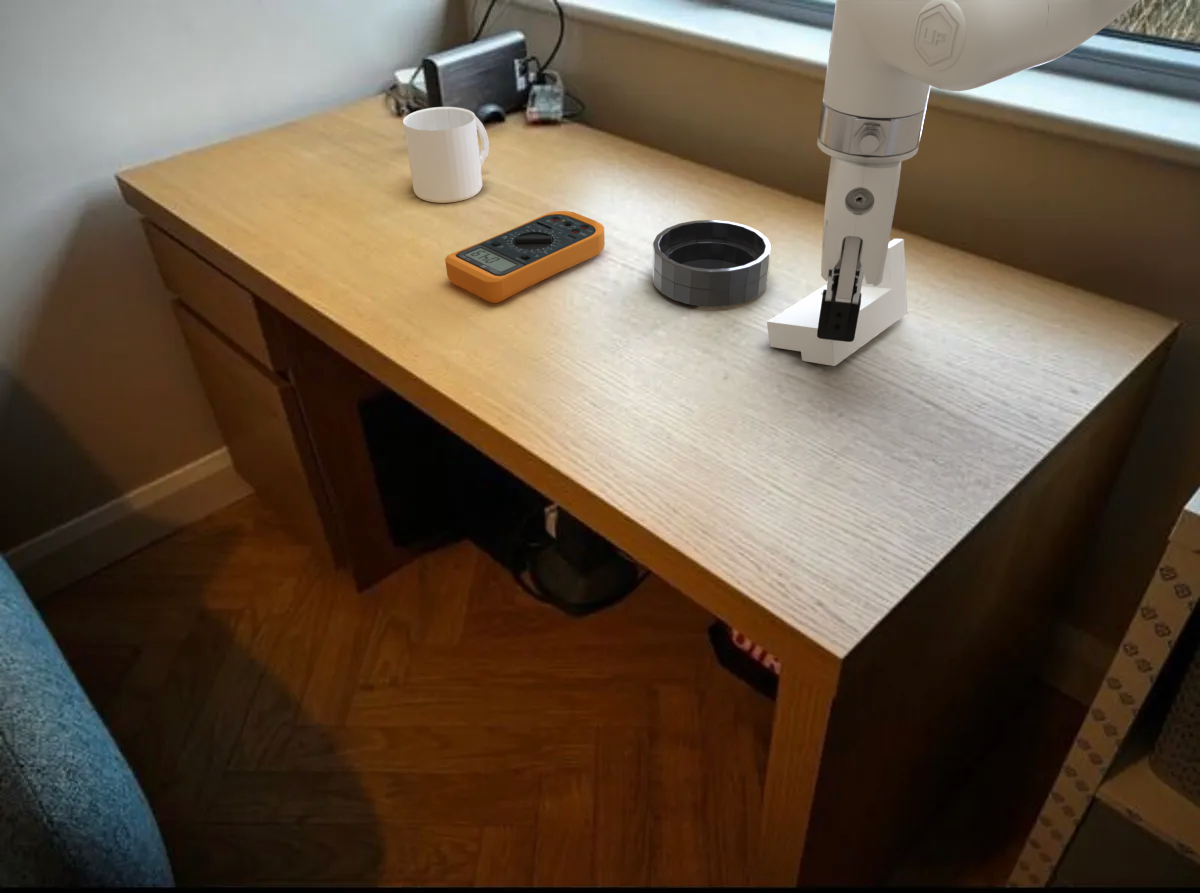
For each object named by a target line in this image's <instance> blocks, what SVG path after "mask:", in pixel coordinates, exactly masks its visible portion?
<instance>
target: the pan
mask: <svg viewBox="0 0 1200 893" xmlns="http://www.w3.org/2000/svg"><path fill="white" fill-rule="evenodd" d="M771 253H772V245H771V242H770V240H769V238H768V237H767V236H766V235H764V234H763V232H761V231H760V230H757V229H756V228H753V227H752V226H749V225H747V224H742V223H739V222H733V221H729V220H716V219H700V220H691V221H685V222H680V223H677V224H674V225H671V226H669V227H667V228H664V229H663V230H662V231H660V232H659V233H657V235H656V236H655V238H654V240H653V242H652V270H651V271H652V275H651V276H652V281H653V286H654V287H655V288H656V289H657V290H658V291H659V292H660V293H661V294H662V295H664V296H666V297H667V298H669V299H671V300H673V301H676V302H680V303H682V304H686V305H688V306H689V305H690V306H694V307H695V306H697V307H704V308H720V307H730V306H735V305H740V304H744V303H747V302H749V301H752V300H754V299H756V298H757V297H759V296H760V295H761V294H763V292H764V291H765V290H766V289H767V285H768V281H769V273H770V262H771V256H772V255H771Z"/></svg>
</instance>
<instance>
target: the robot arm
mask: <svg viewBox="0 0 1200 893" xmlns="http://www.w3.org/2000/svg"><path fill="white" fill-rule="evenodd" d="M1140 1H1141V0H835V4H834V10H833V11H834V13H833V21H832V27H831V34H830V43H829V50H828V58H827V65H826V72H825V73H826V74H825V81H824V86H823V87H824V89H823V95H822V102H821V103H822V104H821V111H820V117H819V127H818V134H817V142H816V145H817V147H818V149H819V150H820V151H821V152H822V153H824V154H825V155H827V156H829V157H830V161H829V162H830V163H829V170H828V177H827V186H826V194H825V203H824V204H825V205H824V213H823V222H822V223H823V224H822V236H821V238H822V239H821V261H820V262H821V263H820V265H821V266H820V267H821V268H820V276H821V278H822V279H823V280H824V281H826V282H827V283H826V284H827V290H825V289H824V290H823V297H822V303H821V310H820V316H819V323H818V330H817V337H818V338H820V339H827V340H836V341H845V342H852V341H853V340H854V337H855V332H856V326H857V321H858V315H859V310H860V304H861V294H862V293H860V291H861V286H862V281H863V278H864V277H865V280H866V283H867V284H873V286H878V285H879V284H880V283H881V282H882V279H883V273H884V267H885V261H886V255H887V249H888V244H889V242H890V237H891V233H892V227H893V221H894V216H895V210H896V205H897V198H898V194H899V193H898V192H899V187H900V180H901V179H900V178H901V171H902V162H905V161H908V160H909V159H911V158H914V156H916V155H917V153H918V151H919V148H920V147H919V146H920V141H921V136H922V132H923V126H924V122H925V117H926V111H927V106H928V102H929V96H930V93H931V92H930V91H931V87H933V88H936V89H939V90H943V91H947V92H964V91H970V90H973V89H977V88H980V87H983V86H986V85H990V84H991V83H995V82H997V81H1000V80H1003V79H1007V78H1008V77H1010V76H1013V75H1014V74H1015V75H1016V74H1018V73H1020V72H1023V71H1026V70H1029V69H1033V68H1035V67H1039V66H1042V65H1044V64H1047V63H1050V62H1052V61H1055V60H1057V59H1059V58H1062V57H1063V56H1064V55H1066V54H1068V53H1070V52H1071V51H1073V50H1074V49H1077V48H1078V47H1079V46H1081V45H1082V44H1084V43H1085V42H1087V41H1088V40H1089V39H1091V38H1092V37H1093V36H1095V35H1096V34H1097V33H1099V32H1100V31H1102V30H1103V29H1104V28H1106V27H1108V25H1110V24H1111V23H1112V22H1114V21H1115V20H1116V19H1117V18H1119V17H1120V16H1122V15H1123V14H1124V13H1125V12H1127V11H1128V10H1130V8H1132V7H1134V5H1135V4H1137V3H1138V2H1140Z"/></svg>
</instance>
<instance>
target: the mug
mask: <svg viewBox="0 0 1200 893" xmlns="http://www.w3.org/2000/svg"><path fill="white" fill-rule="evenodd" d="M402 123H403V131H404V137H405V143H406V150H407V156H408V163H409V169H410V175H411V183H412V189H413V192H414V194H415V195H416V197H418V198H419V199H420V200H423V201H426V202H428V203H429V202H430V203H436V204H448V203H450V204H451V203H456V202H461V201H465V200H469V199H471V198H473V197H475V196H477V195H478V194H479V193H480V192H481V191H482V188H483V175H482V174H483V173H482V166H483V164H484V163H485V162H486V159H488V158H487V157H488V155H489V152H490V139H489V136H488V132H487V130H486V127H485V126H484V123H483V122H482V121H481V120H480V119H479V118H478V117H477V116H476V114H475V112H473V111H471V110H470V109H467V108H462V107H457V106H436V107H435V106H434V107H427V108H423V109H419V110H416V111H413V112H411V113H409V114H407V115H406V116H405V117H404V118H403V119H402ZM478 136H479V137H478ZM479 138H480V147H479ZM480 148H481V149H480Z"/></svg>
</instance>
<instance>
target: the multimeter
mask: <svg viewBox="0 0 1200 893" xmlns="http://www.w3.org/2000/svg"><path fill="white" fill-rule="evenodd" d="M605 242H606V241H605V227H604V225H603V224H602V223H600V222H599V221H596V220H595V219H592V218H590V217H587V216H585V215H582V214H579V213H577V212H574V211H569V210H556V211H551V212H548V213H545V214H542V215H540V216H538V217H535V218H533V219H531V220H529V221H527V222H524V223H522V224H520V225H517V226H515V227H513V228H511V229H509V230H506V231H503V232H501V233H499V234H497V235H494V236H492V237H489V238H488V239H487V238H486V239H484V240H483V241H480V242H478V243H475V244H473V245H470V246H468V247H464V248H463V249H461V250H458V251H455V252H452V253H450V254H447V255H446V256H445V258H444V262H445V269H446V275H447V278H448V280H449V282H451V284H454V285H456V286H457V287H459V288H461V289H463V290H465V291H466V292H468V293H471V294H473V295H475V296H477V297H479V298H481V299H483V300H485V301H487V302H489V303H492V304H493V303H494V304H498V303H500V302H503V301H505V300H506V299H508V298H510V297H512V296H514V295H516V294H518V293H520V292H522V291H523V290H526V289H527V288H530V287H531V286H534V285H535V284H538V283H539V282H542V281H543V280H546V279H548V278H550V277H552V276H554V275H556V274H559V273H560V272H562V271H565V270H568V269H570V268H572V267H574V266H576V265H579V264H581V263H583V262H586V261H588V260H590V259H593V258H595V257H597V256H598V255H600V254H601V252H603V250H604V248H605V245H606V244H605Z"/></svg>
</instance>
